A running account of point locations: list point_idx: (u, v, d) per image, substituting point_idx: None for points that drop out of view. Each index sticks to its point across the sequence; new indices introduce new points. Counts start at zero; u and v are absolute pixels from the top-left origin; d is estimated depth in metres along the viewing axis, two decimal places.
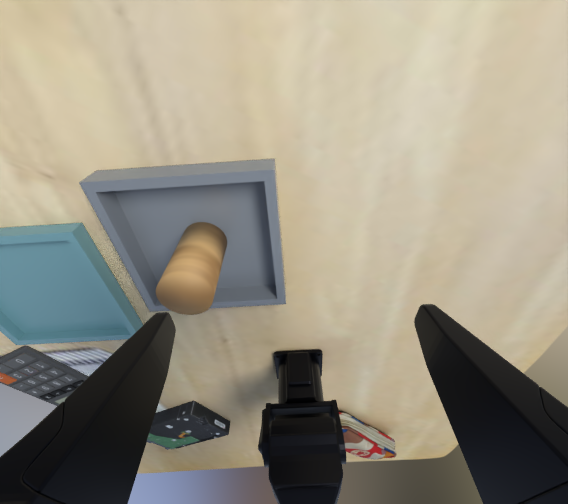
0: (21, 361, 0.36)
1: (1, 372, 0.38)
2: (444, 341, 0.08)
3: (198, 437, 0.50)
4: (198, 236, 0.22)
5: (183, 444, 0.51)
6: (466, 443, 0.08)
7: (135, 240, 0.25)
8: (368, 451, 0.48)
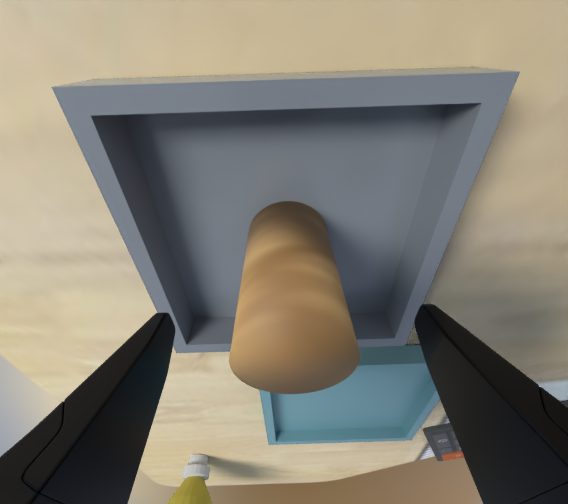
0: (443, 440, 0.31)
1: (450, 452, 0.34)
2: (444, 341, 0.08)
3: None
4: None
5: None
6: (466, 443, 0.08)
7: None
8: None
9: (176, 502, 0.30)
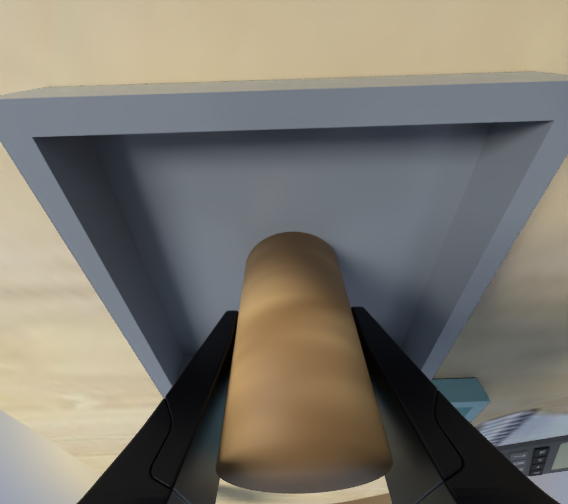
0: None
1: None
2: (363, 344, 0.08)
3: None
4: None
5: None
6: None
7: None
8: None
9: None
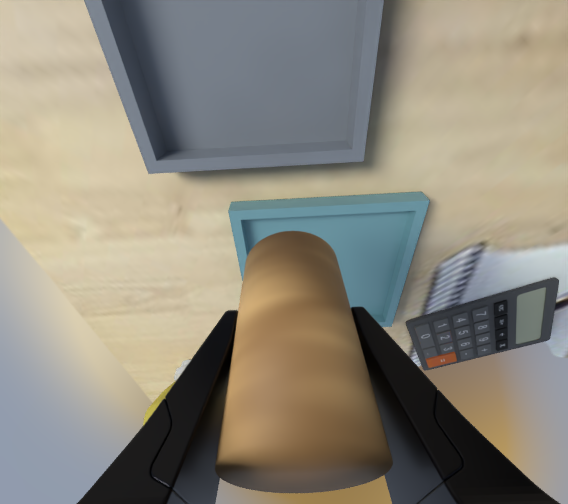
0: (426, 335, 0.32)
1: (435, 355, 0.35)
2: (363, 343, 0.08)
3: None
4: (239, 304, 0.10)
5: None
6: None
7: (246, 147, 0.18)
8: None
9: (167, 392, 0.31)
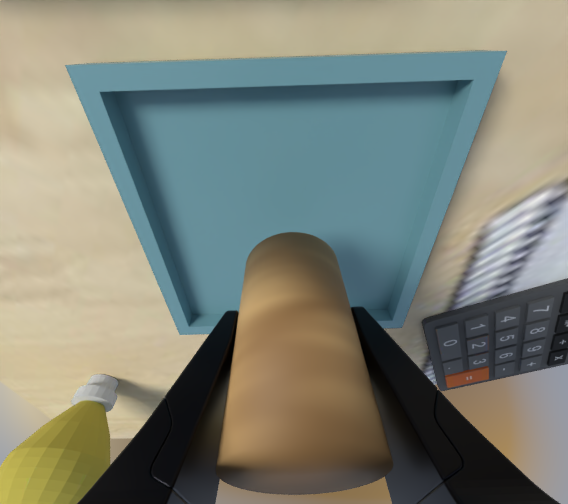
0: (452, 341, 0.21)
1: (459, 371, 0.24)
2: (363, 343, 0.08)
3: None
4: None
5: None
6: None
7: None
8: None
9: (44, 428, 0.19)
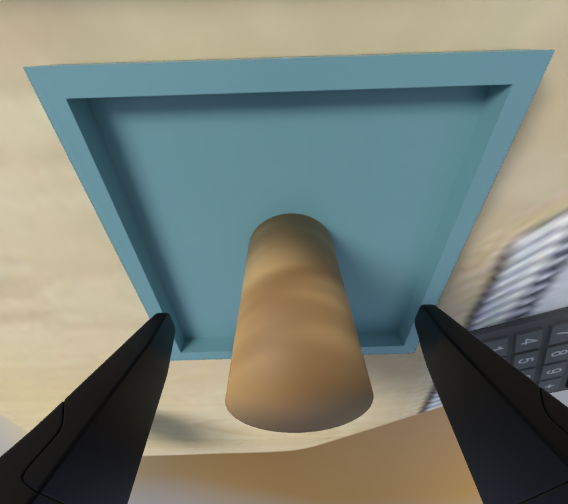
0: None
1: None
2: (444, 341, 0.08)
3: None
4: None
5: None
6: (466, 443, 0.08)
7: None
8: None
9: None
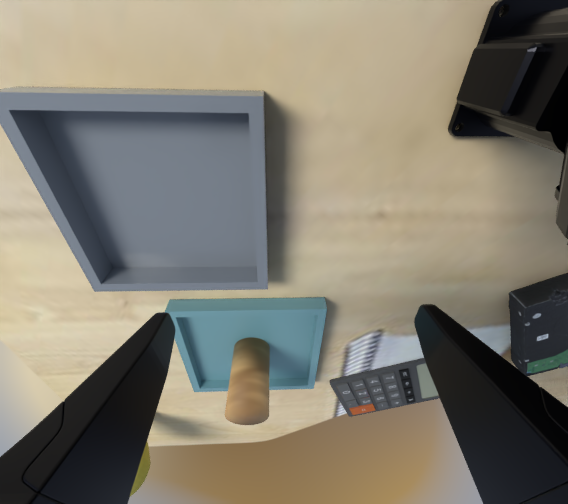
0: (347, 391, 0.37)
1: (356, 406, 0.40)
2: (444, 341, 0.08)
3: None
4: None
5: None
6: (466, 443, 0.08)
7: (178, 269, 0.23)
8: None
9: None
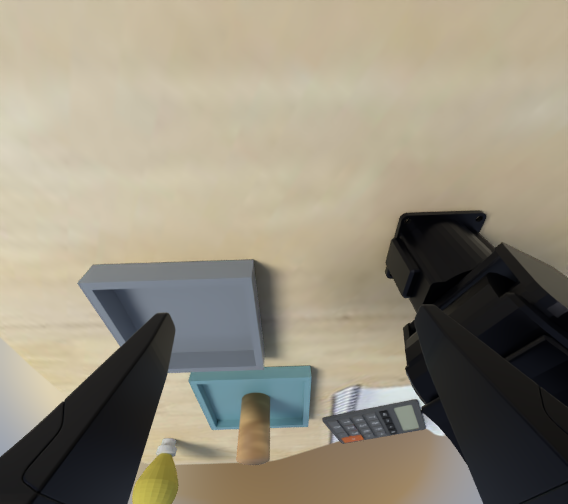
0: (337, 426, 0.45)
1: (347, 436, 0.48)
2: (444, 341, 0.08)
3: None
4: (240, 415, 0.36)
5: None
6: (466, 443, 0.08)
7: (197, 353, 0.31)
8: None
9: (150, 469, 0.43)
